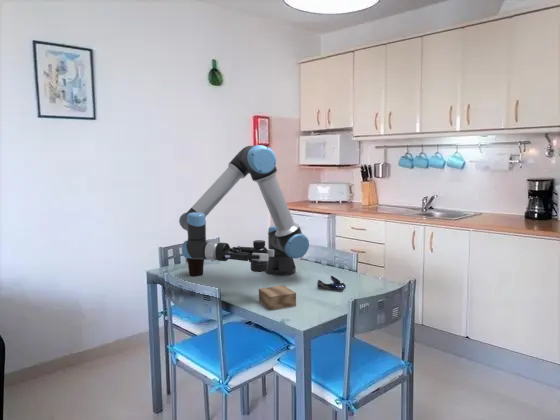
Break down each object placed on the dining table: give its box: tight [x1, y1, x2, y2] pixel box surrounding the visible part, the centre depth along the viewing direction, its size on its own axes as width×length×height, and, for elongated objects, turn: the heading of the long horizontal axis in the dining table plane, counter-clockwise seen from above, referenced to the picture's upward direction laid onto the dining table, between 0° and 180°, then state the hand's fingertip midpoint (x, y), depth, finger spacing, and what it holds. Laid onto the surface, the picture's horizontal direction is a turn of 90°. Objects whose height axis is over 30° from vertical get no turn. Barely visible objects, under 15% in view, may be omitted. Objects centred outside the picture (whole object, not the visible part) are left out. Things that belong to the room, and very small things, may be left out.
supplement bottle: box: [250, 239, 268, 273], centre depth 182 cm, size 7×7×12 cm
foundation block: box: [258, 285, 297, 311], centre depth 177 cm, size 11×11×5 cm
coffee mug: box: [186, 258, 205, 277], centre depth 219 cm, size 12×9×10 cm
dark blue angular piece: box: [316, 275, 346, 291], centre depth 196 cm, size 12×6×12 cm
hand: (270, 255), depth 180 cm, fingers closed on supplement bottle, 7 cm apart
